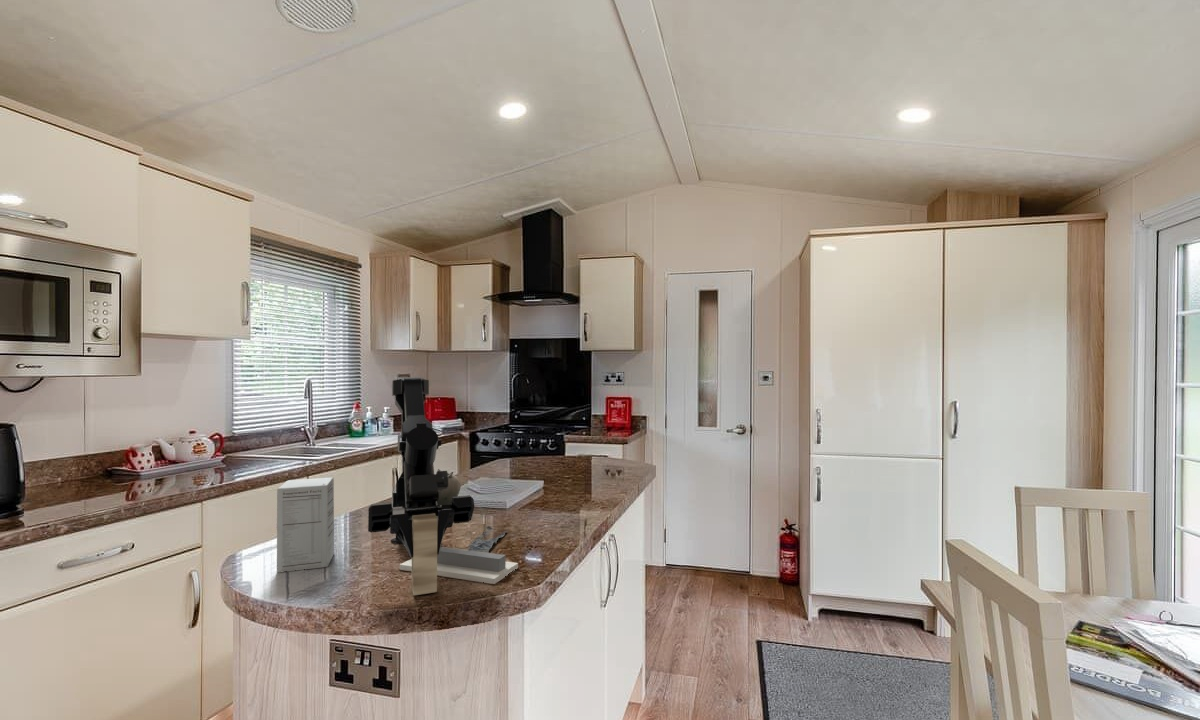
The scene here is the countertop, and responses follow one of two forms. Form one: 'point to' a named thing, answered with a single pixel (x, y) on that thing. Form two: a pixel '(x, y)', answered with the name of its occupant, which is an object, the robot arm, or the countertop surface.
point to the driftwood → (484, 542)
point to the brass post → (424, 554)
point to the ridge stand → (470, 565)
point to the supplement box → (305, 524)
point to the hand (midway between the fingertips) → (425, 555)
